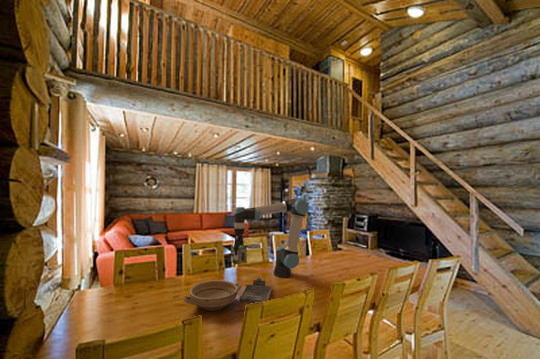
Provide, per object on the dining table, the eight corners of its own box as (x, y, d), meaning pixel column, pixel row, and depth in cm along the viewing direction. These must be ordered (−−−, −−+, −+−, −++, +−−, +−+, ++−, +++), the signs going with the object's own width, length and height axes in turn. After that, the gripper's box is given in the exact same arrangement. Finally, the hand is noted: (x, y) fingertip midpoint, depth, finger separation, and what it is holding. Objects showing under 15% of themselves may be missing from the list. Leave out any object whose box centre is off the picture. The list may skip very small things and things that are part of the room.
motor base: (247, 287, 176) (247, 275, 177) (272, 289, 174) (272, 277, 174) (239, 301, 154) (239, 288, 154) (267, 304, 151) (268, 290, 152)
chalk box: (246, 263, 179) (247, 242, 180) (235, 264, 174) (235, 243, 175) (241, 259, 187) (241, 240, 188) (230, 261, 182) (230, 241, 183)
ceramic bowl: (192, 326, 125) (193, 306, 125) (174, 305, 147) (175, 288, 147) (252, 306, 148) (252, 289, 149) (228, 290, 170) (229, 275, 171)
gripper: (238, 225, 194) (237, 252, 193) (229, 230, 170) (228, 261, 169) (247, 225, 193) (247, 253, 192) (240, 230, 169) (239, 262, 168)
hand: (238, 257), depth 181 cm, fingers closed on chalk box, 12 cm apart
